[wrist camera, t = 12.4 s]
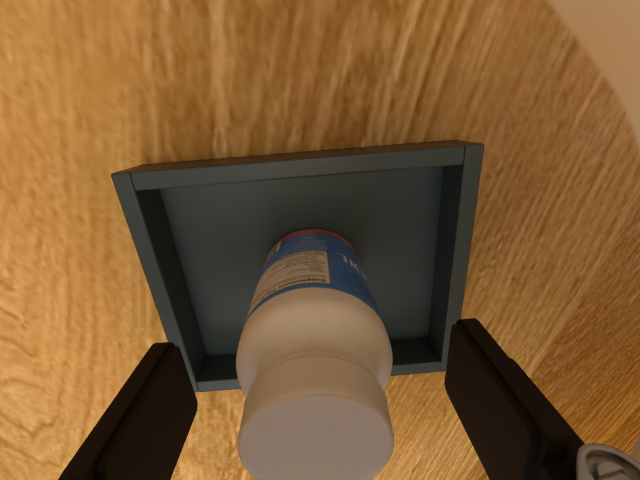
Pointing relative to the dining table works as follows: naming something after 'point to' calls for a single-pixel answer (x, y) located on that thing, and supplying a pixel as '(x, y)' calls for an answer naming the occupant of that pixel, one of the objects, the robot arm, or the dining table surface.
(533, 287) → the dining table surface
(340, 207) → the tray
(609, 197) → the dining table surface
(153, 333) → the dining table surface
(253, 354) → the pill bottle
